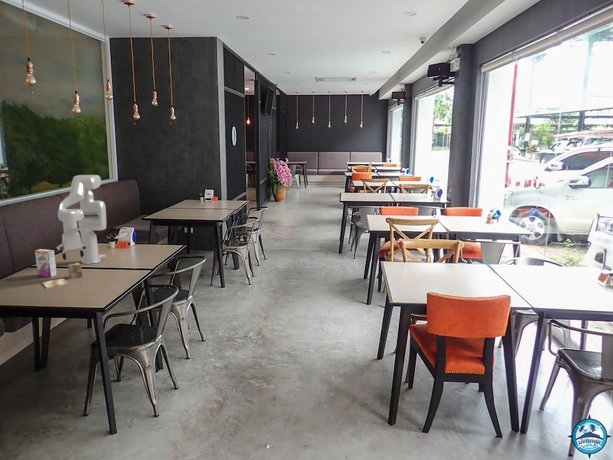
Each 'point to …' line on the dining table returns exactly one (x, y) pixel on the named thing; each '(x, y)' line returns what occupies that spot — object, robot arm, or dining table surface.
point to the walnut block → (75, 270)
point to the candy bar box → (45, 263)
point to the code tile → (75, 278)
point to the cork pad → (55, 283)
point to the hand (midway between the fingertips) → (73, 258)
